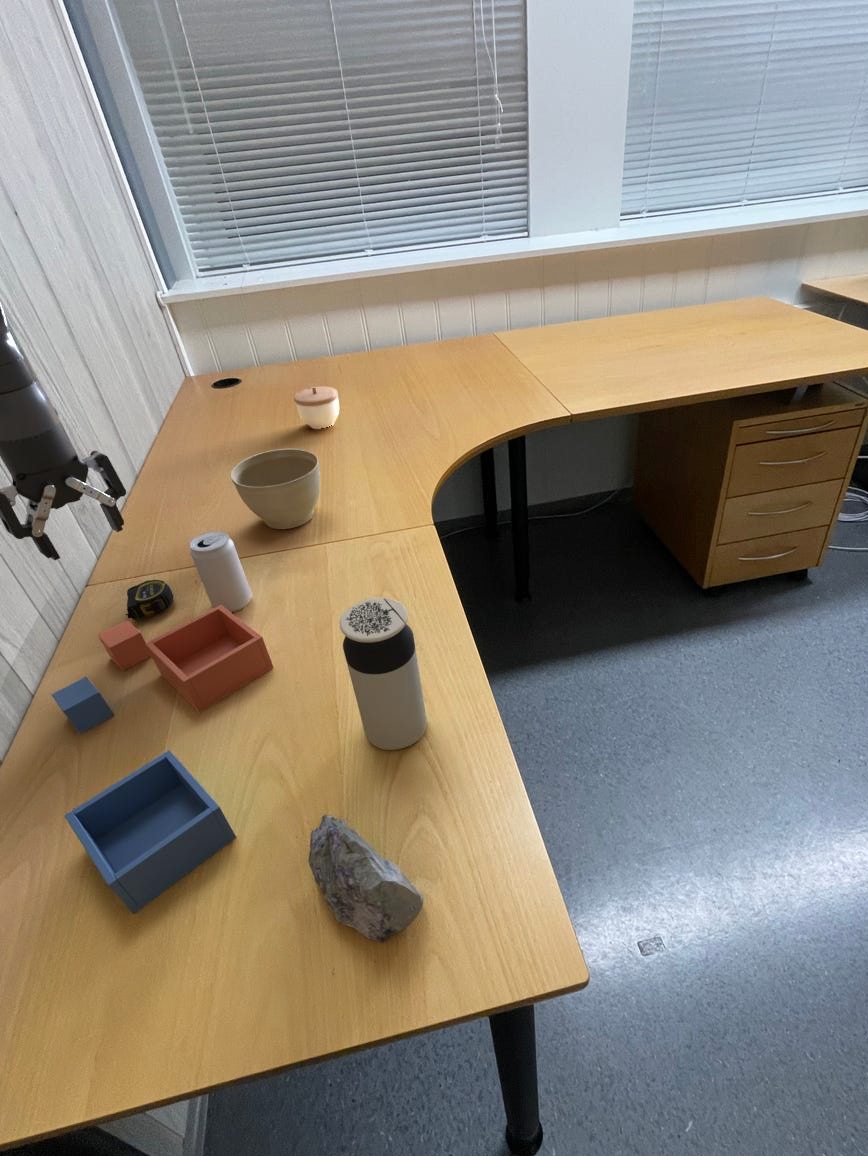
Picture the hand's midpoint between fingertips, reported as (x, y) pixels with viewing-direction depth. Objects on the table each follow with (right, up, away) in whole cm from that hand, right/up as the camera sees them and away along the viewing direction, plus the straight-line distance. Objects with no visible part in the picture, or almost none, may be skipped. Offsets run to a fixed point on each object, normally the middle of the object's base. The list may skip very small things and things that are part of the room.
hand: (87, 543), depth 84 cm
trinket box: (+12, +42, +76) cm, 88 cm away
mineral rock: (+41, -38, -20) cm, 60 cm away
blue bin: (+18, -35, -15) cm, 42 cm away
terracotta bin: (+15, -17, +6) cm, 24 cm away
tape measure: (-1, -8, +18) cm, 20 cm away
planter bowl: (+15, +11, +39) cm, 44 cm away
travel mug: (+42, -24, -4) cm, 49 cm away
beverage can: (+13, -7, +18) cm, 23 cm away
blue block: (0, -23, 0) cm, 23 cm away
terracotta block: (+1, -15, +9) cm, 18 cm away
